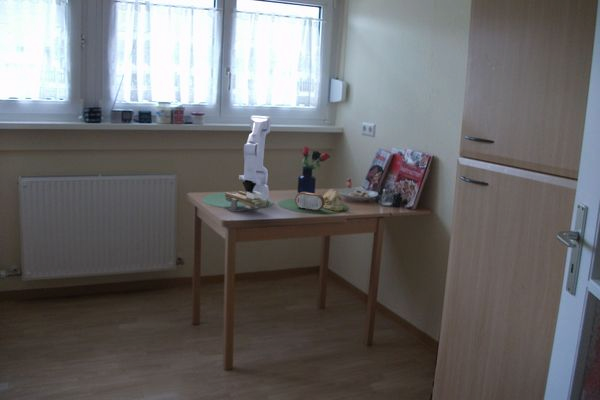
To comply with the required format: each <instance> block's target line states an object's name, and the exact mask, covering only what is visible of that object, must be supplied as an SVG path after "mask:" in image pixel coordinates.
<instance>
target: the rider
mask: <svg viewBox="0 0 600 400" xmlns="http://www.w3.org/2000/svg"><path fill="white" fill-rule="evenodd" d="M245 193H246V192H245ZM262 195H263V193H260V192H257V191H247V193H246V199H248V200H251V201H252V200H261V199H262Z"/></svg>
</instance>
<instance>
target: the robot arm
mask: <svg viewBox="0 0 600 400" xmlns="http://www.w3.org/2000/svg"><path fill="white" fill-rule="evenodd" d="M271 119H272V118H271V116H266V115H265V116H262V115H251V116H250V120H249V126H250V129H251V133H249V135H248V138H247V141H246V143H244V145H243V159H244V164H243V166H244V167H243V169H244V170H243V174H239V175H238V180H243V181H242V184H243V185H242V186H243V187H244V189H245V193H247V191H257V192H260V193H263V195H262V199H268V203H269V202H270V200H269V190H270V189H269V185H267V184H268V179H269V175H268V172H269V171H268V169H267V168H266V167H265V166H264V157H265V146H266V145H265V144H266V143H265V142H266V136H267V134H270V131H271V125H272V124H271V123H272V121H271Z"/></svg>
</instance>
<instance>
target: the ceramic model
mask: <svg viewBox="0 0 600 400" xmlns="http://www.w3.org/2000/svg"><path fill="white" fill-rule="evenodd" d="M322 197H323V198H324V200H325V204H324V206H323V208H322V209H324V208H326V209H325V210H327V209H329V210H328V211H332V210H334V211H342V210H343V209H344V207H343V205H341V202H342V199H343V198H342V196H341V195H340V194H339V192H338V191H337V190H336V189H335V188H331V189H328V191H326V192H325V193H324V194H323V196H322ZM334 211H333V212H334Z"/></svg>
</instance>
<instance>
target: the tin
mask: <svg viewBox="0 0 600 400" xmlns="http://www.w3.org/2000/svg"><path fill="white" fill-rule="evenodd" d="M294 200H295V205H296V206H297V207H298V208H300V209H302V208H305V209H304V210H309V209H312V210H311V211H315V210H317V211H319V210H321V209H324V208H323V206H324V204H325V200H324V198H323V196H322V195H321V194H319V193H314V192H309V191H301V192H299V193H297V195H296V196H295V199H294Z"/></svg>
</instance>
